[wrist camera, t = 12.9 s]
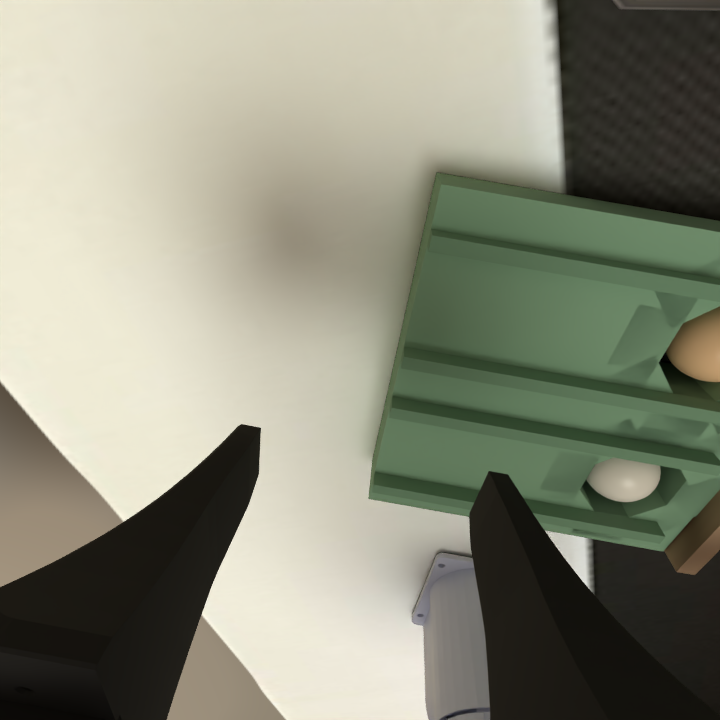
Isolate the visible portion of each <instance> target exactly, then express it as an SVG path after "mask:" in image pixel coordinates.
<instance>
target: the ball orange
mask: <svg viewBox="0 0 720 720" xmlns="http://www.w3.org/2000/svg"><path fill="white" fill-rule="evenodd" d="M666 354H667V356H668V358H669V360H670V361H671V363H672V364H673V365H674V366H675V367H676V368H677V369H678V370H680V371H681V372H682V373H684V374H686V375H688V376H690V377H692V378H695V379H698V380H702V381H708V382H720V306H719V307H717V308H715V309H713V310H711V311H709V312H706V313H704V314H702V315H700V316H698V317H696V318H693V319H691V320H689V321H687V322H685V323H683V324H682V326H681V327H680V329H679V331H678V332H677V334H676V336H675V337H674V339H673V340H672V342H671V344H670V345H669V347H668V348H667V350H666Z"/></svg>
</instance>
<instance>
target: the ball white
mask: <svg viewBox="0 0 720 720" xmlns="http://www.w3.org/2000/svg"><path fill="white" fill-rule="evenodd" d="M660 475H661V469H660V466H658V465H653V464H647V463H641V462H636V461H630V460H624V459H619V458H611V459H608V460H606V461H603V462H600V463H598V464H595V466H594V468H593V469H592V471H591V472H590V474H589V476H588V477H587V479H586V480H587V482H588V483H589V484H590V486H591V487H592V488H593V489H594V490H595V491H597V492H598V493H599V494H601V495H602V496H604V497H606V498H608V499H611V500H614V501H619V502H634V501H638V500H641V499H643V498H645V497H647V496H648V495H650V494H651V493H652V492H653V491H654V490H655V488H656V487H657V485H658V483H659V480H660Z"/></svg>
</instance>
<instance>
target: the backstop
mask: <svg viewBox="0 0 720 720" xmlns="http://www.w3.org/2000/svg"><path fill="white" fill-rule="evenodd" d="M719 550H720V490H719V491H718V492H717V493H716V494H715V496H714V497H713V498H712V499H711V500H710V501H709V502H708V504H707V505H706V506H705V507H704V508H703V509H702V510H701V512H700V513H699V514H698V515H697V516H696V517H693V518H692V519H691V520H690V522H689V523H688V524H687V525H686V526H685V527H684V528H683V530H682V531H681V532H680V533H679V534H678V535H677V536H676V538H675V539H674V540H673V541H672V542H671V543H670V544H669V545H668V547H667V548H666V549H665V550H664V551H665V553H666V554H667V556H668V558H669V560H670V561H671V563H672V565H673V567H674V568H675V570H676V572H681V573H686V574H692V575H695V574H696V573H697V572H698V571H699V570H700V569H701V568H702V567H703V566H704V565H705V564H706V563H707V562H708V561H709V560H710V559H711V558H712V557H713V556H714V555H715V554H716V553H717V552H718V551H719Z"/></svg>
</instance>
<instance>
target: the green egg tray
mask: <svg viewBox="0 0 720 720" xmlns="http://www.w3.org/2000/svg"><path fill="white" fill-rule="evenodd" d="M719 306H720V221H717V220H711V219H705V218H699V217H693V216H687V215H682V214H676V213H670V212H664V211H658V210H653V209H647V208H641V207H635V206H629V205H623V204H618V203H612V202H606V201H600V200H594V199H589V198H583V197H577V196H571V195H565V194H559V193H554V192H548V191H542V190H536V189H530V188H525V187H519V186H513V185H507V184H501V183H495V182H490V181H484V180H478V179H472V178H466V177H461V176H455V175H449V174H443V173H436V177H435V182H434V186H433V191H432V195H431V200H430V204H429V209H428V213H427V218H426V222H425V227H424V231H423V236H422V240H421V245H420V249H419V254H418V258H417V263H416V267H415V272H414V276H413V281H412V285H411V290H410V294H409V299H408V303H407V307H406V312H405V316H404V321H403V325H402V330H401V334H400V339H399V343H398V348H397V352H396V357H395V361H394V366H393V370H392V375H391V379H390V384H389V388H388V393H387V397H386V402H385V406H384V411H383V415H382V420H381V424H380V429H379V433H378V438H377V442H376V447H375V451H374V456H373V460H372V469H371V479H370V489H369V499H373V500H378V501H384V502H389V503H395V504H401V505H406V506H412V507H417V508H423V509H429V510H434V511H440V512H445V513H451V514H457V515H462V516H468V517H469V513H470V511H471V509H472V506H473V504H474V502H475V500H476V498H477V496H478V493H479V491H480V489H481V487H482V485H483V482H484V480H485V478H486V476H487V474H488V472H489V471H492V472H498V473H503V474H508V475H509V477H510V478H511V480H512V481H513V483H514V484H515V486H516V487H517V489H518V491H519V492H520V494H521V495H522V497H523V498H524V500H525V502H526V503H527V505H528V506H529V508H530V509H531V511H532V512H533V514H534V516H535V517H536V519H537V520H538V522H539V523H540V525H541V526H542V527H543V529H544V530H546V531H552V532H557V533H563V534H568V535H574V536H580V537H585V538H591V539H596V540H602V541H608V542H613V543H619V544H624V545H630V546H636V547H641V548H647V549H652V550H658V551H664V550H665V549H666V548H667V547H668V545H669V544H670V543H671V542H672V541H673V540H674V539H675V538H676V536H677V535H678V534H679V533H680V532H681V531H682V530H683V528H684V527H685V526H686V525H687V524H688V523H689V522H690V520H691V519H692V518H693V517H696V516H697V515H698V514H699V513H700V512H701V510H702V509H703V508H704V507H705V506H706V505H707V504H708V502H709V501H710V500H711V499H712V498H713V497H714V496H715V494H716V493H717V492H718V491H719V490H720V382H708V381H702V380H698V379H695V378H692V377H690V376H688V375H686V374H684V373H682V372H681V371H680V370H678V369H677V368H676V367H675V366H674V365H673V364H670V363H664V362H659V361H660V360H661V358H662V356H663V355H664V353H665V352H666V350H667V348H668V347H669V345H670V344H671V342H672V340H673V339H674V337H675V336H676V334H677V332H678V331H679V329H680V327H681V326H682V324H683V323H685V322H687V321H689V320H691V319H693V318H696V317H698V316H700V315H702V314H704V313H706V312H709V311H711V310H713V309H715V308H717V307H719ZM611 458H619V459H624V460H630V461H636V462H641V463H647V464H653V465H658V466H660V469H661V475H660V480H659V483H658V485H657V487H656V488H655V490H654V491H653V492H652V493H651V494H650V495H648V496H647V497H645V498H643V499H641V500H638V501H634V502H619V501H614V500H611V499H608V498H606V497H604V496H602V495H601V494H599V493H598V492H597V491H595V490H594V489H593V488H592V487H591V486H590V484H589V483H588V482H587V480H586V479H587V477H588V476H589V474H590V472H591V471H592V469H593V468H594V466H595V464H598V463H600V462H603V461H606V460H608V459H611Z"/></svg>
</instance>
